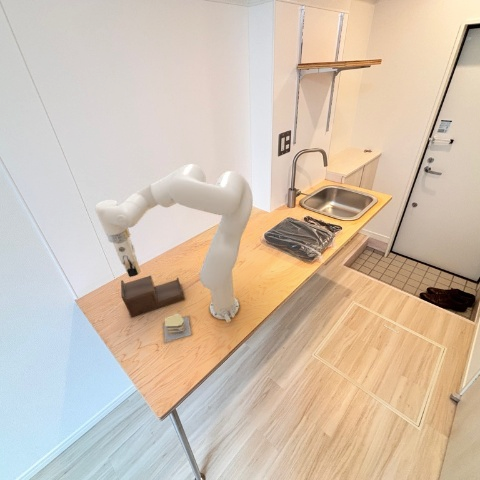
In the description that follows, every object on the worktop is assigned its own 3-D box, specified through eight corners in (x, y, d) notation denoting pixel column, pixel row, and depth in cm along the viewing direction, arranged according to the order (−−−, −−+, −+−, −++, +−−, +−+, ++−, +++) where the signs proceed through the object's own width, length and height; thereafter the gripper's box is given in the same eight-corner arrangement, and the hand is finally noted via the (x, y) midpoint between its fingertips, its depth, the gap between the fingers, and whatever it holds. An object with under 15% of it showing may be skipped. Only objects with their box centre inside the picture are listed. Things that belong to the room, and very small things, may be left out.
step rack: (184, 299, 111) (178, 278, 103) (131, 317, 105) (121, 296, 97) (180, 284, 119) (174, 264, 111) (130, 300, 112) (120, 280, 105)
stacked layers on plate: (165, 342, 94) (161, 333, 91) (164, 323, 101) (160, 314, 98) (191, 334, 96) (188, 326, 93) (188, 316, 103) (185, 308, 100)
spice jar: (141, 274, 98) (136, 260, 94) (127, 278, 96) (120, 264, 92) (140, 266, 102) (135, 252, 98) (126, 270, 101) (120, 255, 96)
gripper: (130, 243, 83) (144, 281, 93) (128, 220, 96) (141, 256, 106) (106, 249, 81) (124, 288, 91) (107, 224, 94) (123, 261, 104)
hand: (133, 270), depth 99 cm, fingers closed on spice jar, 5 cm apart
